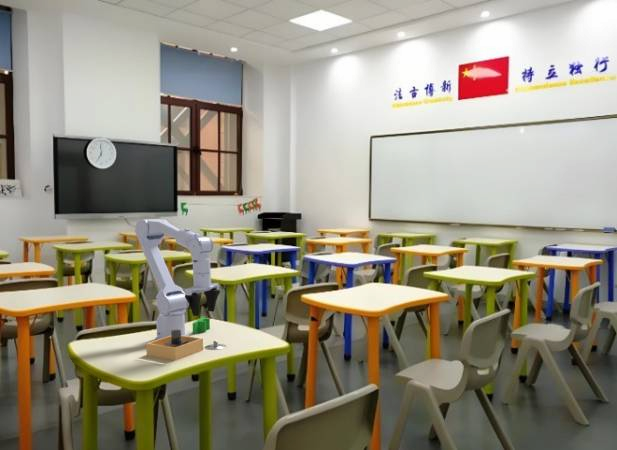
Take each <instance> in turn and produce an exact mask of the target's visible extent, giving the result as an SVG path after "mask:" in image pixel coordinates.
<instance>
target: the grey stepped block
mask: <svg viewBox="0 0 617 450" xmlns="http://www.w3.org/2000/svg"><path fill="white" fill-rule="evenodd" d="M187 343H188V341H185V340H181V330H172V331H171V341H170V342H167V343H165V346H169V347H178V346H181V345H184V344H187Z"/></svg>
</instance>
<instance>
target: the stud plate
mask: <svg viewBox="0 0 617 450" xmlns="http://www.w3.org/2000/svg"><path fill="white" fill-rule="evenodd" d="M226 348H227V344H223V343H218V341H217V340H214V341H213V343H212V344H208V345H206V346H204V349H205V350H208V351H218V350H223V349H226Z"/></svg>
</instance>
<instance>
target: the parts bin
mask: <svg viewBox="0 0 617 450" xmlns="http://www.w3.org/2000/svg"><path fill="white" fill-rule="evenodd" d="M181 340H185V341H188V343H187V344H184V345H181V346H178V347H169V346H165V343H167V342H170V341H171V336H168V337H165V338H162V339H159V340H158V339H155V340H152V341H150V342H147V343H145V344H146V345H145V346H146V349H145V350H146V356H149V357H156V358H160V359H167V360H172V361H179V360H180V359H182V358H186V357H188V356H191V355H194V354H196V353H198V352H201V351H203V350H204V338H200V337H195V336H190V337H189V336H182V335H181Z"/></svg>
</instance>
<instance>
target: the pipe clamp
mask: <svg viewBox="0 0 617 450" xmlns="http://www.w3.org/2000/svg"><path fill="white" fill-rule="evenodd" d="M210 319H211V318H209V317H208V318H206V316H201V317H200V318H198V319H197V320H196V321H194V322H192V335H196V334H198V333H207V330H211V321H210Z"/></svg>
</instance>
